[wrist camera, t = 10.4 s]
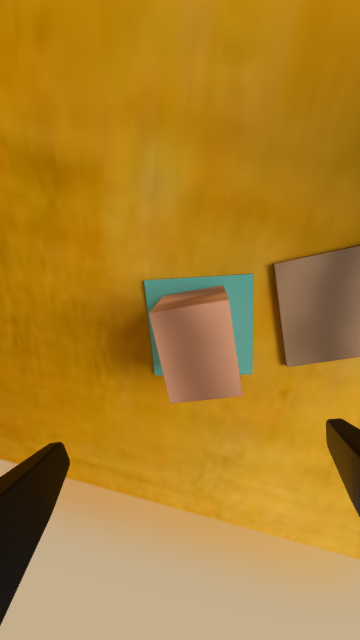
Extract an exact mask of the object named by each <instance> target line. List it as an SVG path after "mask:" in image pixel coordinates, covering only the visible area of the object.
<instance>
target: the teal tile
mask: <svg viewBox="0 0 360 640" xmlns="http://www.w3.org/2000/svg"><path fill="white" fill-rule="evenodd" d="M144 285H145V294H146V303H147V312H148V320H149V329H150V338H151V346H152V355H153V364H154V372H155V375H163V370H162V366H161V362H160V358H159V354H158V350H157V345H156V341H155V337H154V333H153V329H152V324H151V320H150V316H149V312H150V311H151V310H152V309H153V308H154V306H155V305H156V304H157V303H158V302H159V301H160V299H161V298H162V297H163V296H164V295H170V294H175V293H181V292H187V291H192V290H198V289H204V288H209V287H215V286H221V285H224V288H225V291H226V294H227V296H228V299H229V305H230V312H231V319H232V326H233V333H234V340H235V346H236V353H237V360H238V367H239V374H252V348H253V274H239V275H222V276H205V277H188V278H171V279H154V280H144Z"/></svg>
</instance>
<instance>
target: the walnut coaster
mask: <svg viewBox="0 0 360 640" xmlns="http://www.w3.org/2000/svg"><path fill="white" fill-rule="evenodd" d="M273 269H274V277H275V285H276V293H277V301H278V309H279V317H280V325H281V333H282V341H283V349H284V357H285V365H286V366H287V367H291V366H298V365H305V364H312V363H319V362H326V361H333V360H340V359H347V358H354V357H360V245H358V246H353V247H349V248H344V249H339V250H335V251H330V252H325V253H321V254H316V255H311V256H307V257H302V258H297V259H293V260H288V261H283V262H279V263H274V264H273Z"/></svg>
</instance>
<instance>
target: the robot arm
mask: <svg viewBox="0 0 360 640" xmlns="http://www.w3.org/2000/svg"><path fill="white" fill-rule="evenodd" d="M326 437H327V445H328V449H329V451H330V453H331V456H332V458H333V460H334V463H335V465H336V467H337V469H338V472H339V474H340V476H341V479H342V481H343V483H344V485H345V488H346V490H347V492H348V494H349V497H350V499H351V501H352V503H353V505H354V507H355V509H356V511H357V513H358V515H359V516H360V429H358V428H357V427H355V426H353V425H352V424H350V423H348V422H346V421H345V420H343V419H328V420H327V421H326ZM69 465H70V460H69V457H68V454H67V452H66V449H65V447H64V445H63V443H61V442H55V443H50V444H48V445H47V446H45V447H44V448H42V449H41V450H39V451H38V452H36V453H35V454H33V455H32V456H30V457H29V458H28V459H26V460H25V461H23V462H22V463H20V464H19V465H17V466H16V467H15V468H13V469H11V470H10V471H9V472H7V473H6V474H4V475H3V476H1V477H0V625H1V623H2V621H3V619H4V616H5V614H6V612H7V610H8V608H9V606H10V603H11V601H12V599H13V597H14V595H15V593H16V591H17V588H18V586H19V584H20V582H21V580H22V577H23V575H24V573H25V571H26V569H27V567H28V565H29V562H30V560H31V558H32V556H33V554H34V552H35V549H36V547H37V545H38V543H39V541H40V538H41V536H42V534H43V532H44V530H45V528H46V525H47V523H48V521H49V519H50V516H51V514H52V512H53V509H54V507H55V504H56V501H57V498H58V496H59V493H60V490H61V488H62V485H63V482H64V480H65V477H66V474H67V471H68V469H69Z"/></svg>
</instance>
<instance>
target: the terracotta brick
mask: <svg viewBox="0 0 360 640" xmlns="http://www.w3.org/2000/svg"><path fill="white" fill-rule="evenodd" d="M149 316H150V320H151V324H152V329H153V333H154V337H155V341H156V345H157V350H158V354H159V358H160V362H161V366H162V370H163V375H164V379H165V383H166V387H167V391H168V396H169V400H170V403H179V402H189V401H199V400H208V399H218V398H228V397H237V396H243V395H242V388H241V381H240V374H239V367H238V360H237V353H236V346H235V340H234V333H233V326H232V319H231V312H230V305H229V299H228V296H227V294H226V291H225V288H224V285H221V286H215V287H209V288H204V289H198V290H192V291H187V292H181V293H175V294H170V295H164V296H163V297H162V298H161V299H160V301H159V302H158V303H157V304H156V305H155V306H154V308H153V309H152V310H151V311H150V312H149Z"/></svg>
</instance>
